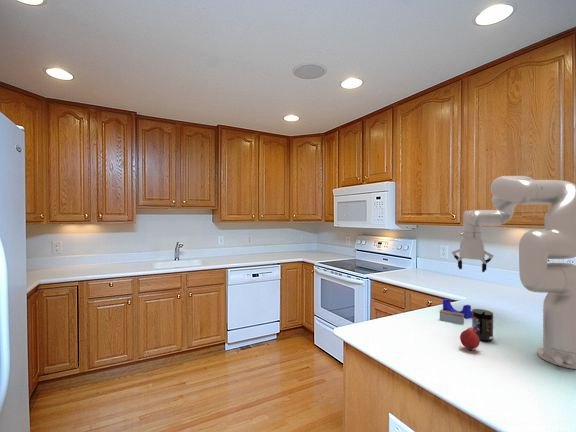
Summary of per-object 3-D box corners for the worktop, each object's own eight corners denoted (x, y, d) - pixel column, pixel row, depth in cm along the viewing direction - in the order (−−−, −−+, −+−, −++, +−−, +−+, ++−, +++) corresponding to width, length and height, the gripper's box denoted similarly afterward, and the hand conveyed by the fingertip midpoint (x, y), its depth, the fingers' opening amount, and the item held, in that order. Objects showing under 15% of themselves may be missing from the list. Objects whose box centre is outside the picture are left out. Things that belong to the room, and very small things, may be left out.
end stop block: (462, 325, 123) (462, 315, 123) (439, 320, 129) (439, 311, 129) (464, 323, 125) (464, 314, 125) (441, 318, 131) (441, 309, 131)
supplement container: (476, 333, 114) (476, 307, 114) (496, 340, 108) (496, 312, 108) (468, 338, 110) (468, 311, 110) (488, 344, 105) (489, 316, 105)
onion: (472, 355, 96) (472, 331, 96) (456, 348, 102) (456, 325, 102) (483, 352, 99) (483, 329, 99) (467, 345, 104) (467, 323, 104)
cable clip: (472, 318, 132) (472, 305, 132) (466, 319, 131) (466, 306, 131) (449, 310, 143) (449, 298, 143) (442, 311, 142) (442, 299, 142)
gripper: (450, 235, 144) (450, 269, 144) (492, 237, 132) (491, 274, 132) (454, 234, 149) (453, 266, 150) (494, 236, 138) (494, 271, 138)
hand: (471, 270), depth 141 cm, fingers open, 9 cm apart
